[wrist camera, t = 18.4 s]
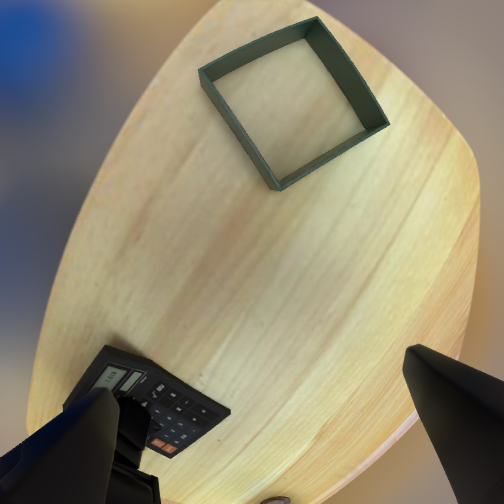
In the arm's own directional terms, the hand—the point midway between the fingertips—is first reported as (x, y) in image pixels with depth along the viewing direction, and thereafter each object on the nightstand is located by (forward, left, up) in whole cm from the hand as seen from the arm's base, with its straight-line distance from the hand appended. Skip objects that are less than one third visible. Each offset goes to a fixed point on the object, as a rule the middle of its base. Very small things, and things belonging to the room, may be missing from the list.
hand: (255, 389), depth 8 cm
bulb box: (+9, +7, -13) cm, 17 cm away
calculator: (-13, -6, -13) cm, 20 cm away
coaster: (-14, -30, -13) cm, 35 cm away
